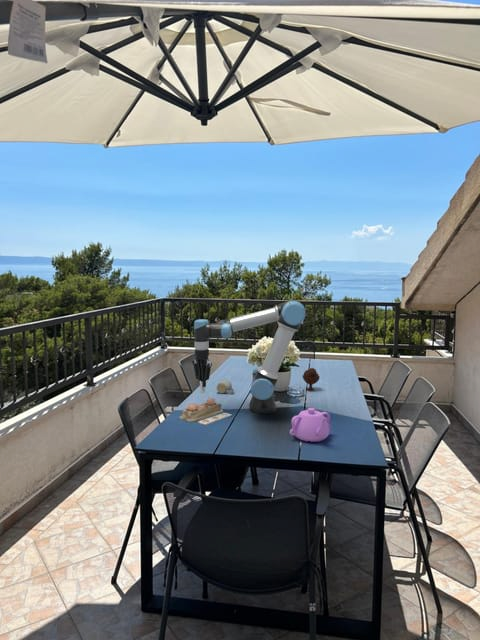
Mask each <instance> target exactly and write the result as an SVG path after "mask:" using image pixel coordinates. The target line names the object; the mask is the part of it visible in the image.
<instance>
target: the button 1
mask: <svg viewBox="0 0 480 640" xmlns="http://www.w3.org/2000/svg"><path fill="white" fill-rule="evenodd" d="M197 405H198V404H195V403H189V404H187V408H188V411H190V412H194V411H197Z"/></svg>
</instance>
